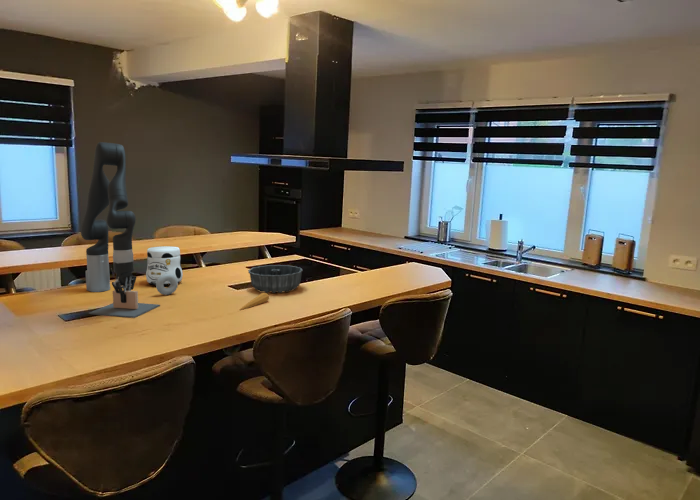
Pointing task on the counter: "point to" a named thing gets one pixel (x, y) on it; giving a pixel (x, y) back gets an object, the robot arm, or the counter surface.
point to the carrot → (257, 300)
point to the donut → (162, 280)
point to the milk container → (163, 263)
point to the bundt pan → (275, 278)
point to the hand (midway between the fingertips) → (125, 301)
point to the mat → (124, 310)
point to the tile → (131, 300)
